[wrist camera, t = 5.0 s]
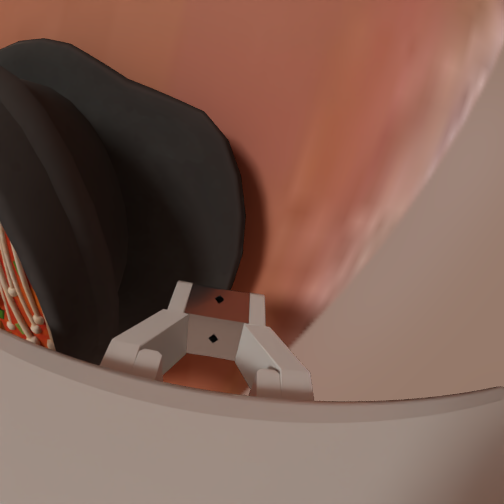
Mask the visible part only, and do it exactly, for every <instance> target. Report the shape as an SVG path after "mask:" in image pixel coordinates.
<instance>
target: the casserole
mask: <svg viewBox="0 0 504 504" xmlns="http://www.w3.org/2000/svg"><path fill="white" fill-rule="evenodd" d="M245 218H246V214H245V206H244V197H243V189H242V180H241V175H240V172H239V169H238V166H237V163H236V160H235V158H234V155H233V152H232V149H231V146H230V144H229V141H228V139H227V138H226V137H225V136H224V134H223V133H222V132H221V131H220V130H219V128H218V127H217V126H216V125H215V124H214V123H213V121H212V120H211V119H210V118H209V117H208V115H207V114H206V113H205V112H204V111H202V110H200V109H198V108H195V107H193V106H191V105H189V104H187V103H184V102H182V101H180V100H178V99H175V98H173V97H171V96H169V95H166V94H164V93H162V92H159V91H157V90H154V89H152V88H150V87H147V86H145V85H142V84H140V83H137V82H135V81H132V80H129V79H127V78H126V77H124V76H123V75H121V74H120V73H118V72H116V71H115V70H113V69H112V68H110V67H109V66H107V65H105V64H104V63H102V62H101V61H99V60H97V59H96V58H94V57H92V56H91V55H89V54H87V53H86V52H84V51H82V50H81V49H79V48H77V47H75V46H74V45H72V44H69V43H65V42H60V41H55V40H50V39H45V38H42V39H32V40H24V41H18V42H16V43H14V44H11V45H9V46H7V47H5V48H2V49H0V328H1V329H3V330H5V331H7V332H9V333H12V334H14V335H16V336H19V337H21V338H23V339H26V340H28V341H31V342H33V343H36V344H38V345H41V346H43V347H46V348H48V349H51V350H54V351H57V352H59V353H62V354H65V355H68V356H71V357H74V358H77V359H80V360H83V361H86V362H89V363H92V364H96V365H99V366H100V364H101V361H102V359H103V357H104V355H105V353H106V351H107V349H108V346H109V344H110V342H111V340H112V339H113V338H115V337H116V336H118V335H120V334H122V333H123V332H125V331H127V330H128V329H130V328H132V327H133V326H135V325H137V324H139V323H140V322H142V321H144V320H145V319H147V318H149V317H151V316H152V315H154V314H156V313H157V312H159V311H161V310H162V309H166V310H167V309H168V306H169V304H170V301H171V298H172V295H173V293H174V290H175V287H176V285H177V282H178V281H179V280H180V281H185V282H191V283H196V284H201V285H206V286H211V287H216V288H221V289H226V290H230V289H231V287H232V285H233V282H234V279H235V276H236V273H237V270H238V267H239V263H240V260H241V257H242V254H243V242H244V230H245Z"/></svg>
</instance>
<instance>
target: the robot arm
mask: <svg viewBox="0 0 504 504" xmlns="http://www.w3.org/2000/svg"><path fill="white" fill-rule="evenodd" d="M186 353H191V354H197V355H204V356H211V357H216V358H221V359H227V360H233V361H235V363H236V365H237V367H238V368H239V370H240V372H241V374H242V375H243V377H244V379H245V380H246V382H247V384H248V386H249V387H250V389H251V390H250V393H249V396H246V395H237V394H230V393H223V392H216V391H209V390H203V389H197V388H192V387H186V386H181V385H176V384H171V383H166V382H163V375H164V374H165V373H166V372H167V371H168V370H169V369H170V368H171V367H172V366H173V365H175V364H176V363H177V362H178V361H179V360H180V359H181V358H182V357H183V356H184V355H186ZM0 504H504V387H493V388H488V389H483V390H478V391H472V392H467V393H460V394H453V395H445V396H437V397H428V398H417V399H405V400H389V401H358V402H336V401H314V396H313V389H312V382H311V375H310V372H309V371H308V369H307V368H306V367H305V366H304V365H303V364H302V363H301V362H300V361H299V359H298V358H297V357H296V356H295V355H294V354H293V353H292V352H291V350H290V349H289V348H288V347H287V346H286V345H285V344H284V343H283V341H282V340H281V339H280V338H279V337H278V336H277V335H276V333H275V332H274V331H273V330H272V329H271V328H270V327H266V316H265V296H264V295H263V294H256V293H245V292H239V291H232V290H226V289H221V288H216V287H211V286H206V285H201V284H196V283H191V282H185V281H180V280H179V281H178V282H177V285H176V287H175V290H174V293H173V295H172V298H171V301H170V304H169V306H168V309H167V310H166V309H162V310H161V311H159V312H157V313H156V314H154V315H152V316H151V317H149V318H147V319H145V320H144V321H142V322H140V323H139V324H137V325H135V326H133V327H132V328H130V329H128V330H127V331H125V332H123V333H122V334H120V335H118V336H116V337H115V338H113V339H112V340H111V342H110V344H109V346H108V349H107V351H106V353H105V355H104V357H103V359H102V361H101V364H100V366H99V365H96V364H92V363H89V362H86V361H83V360H80V359H77V358H74V357H71V356H68V355H65V354H62V353H59V352H57V351H54V350H51V349H48V348H46V347H43V346H41V345H38V344H36V343H33V342H31V341H28V340H26V339H23V338H21V337H19V336H16V335H14V334H12V333H9V332H7V331H5V330H3V329H1V328H0Z"/></svg>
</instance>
